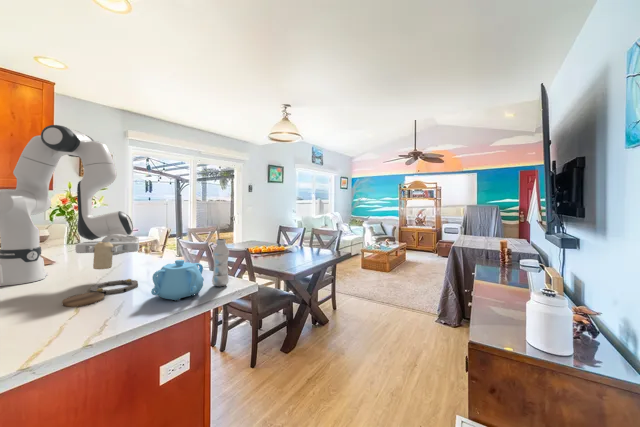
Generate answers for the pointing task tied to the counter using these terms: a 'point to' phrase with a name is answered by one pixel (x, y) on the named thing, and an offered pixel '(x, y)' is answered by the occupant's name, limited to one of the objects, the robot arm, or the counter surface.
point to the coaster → (83, 299)
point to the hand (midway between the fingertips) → (102, 250)
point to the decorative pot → (178, 280)
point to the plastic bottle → (220, 263)
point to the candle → (102, 255)
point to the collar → (100, 286)
